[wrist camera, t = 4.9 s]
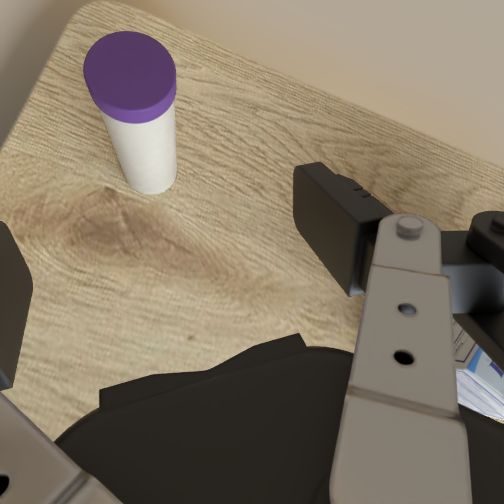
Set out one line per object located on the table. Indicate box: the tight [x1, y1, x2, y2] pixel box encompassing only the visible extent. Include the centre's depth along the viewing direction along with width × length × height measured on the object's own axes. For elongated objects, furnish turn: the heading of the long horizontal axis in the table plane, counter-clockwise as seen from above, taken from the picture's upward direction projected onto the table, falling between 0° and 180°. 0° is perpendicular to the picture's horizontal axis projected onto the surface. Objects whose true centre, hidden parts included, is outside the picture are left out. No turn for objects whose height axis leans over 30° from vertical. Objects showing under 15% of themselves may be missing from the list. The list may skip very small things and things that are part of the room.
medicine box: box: [453, 319, 504, 420], centre depth 22 cm, size 8×4×9 cm, turn 141°
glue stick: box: [83, 31, 177, 195], centre depth 20 cm, size 3×3×10 cm
